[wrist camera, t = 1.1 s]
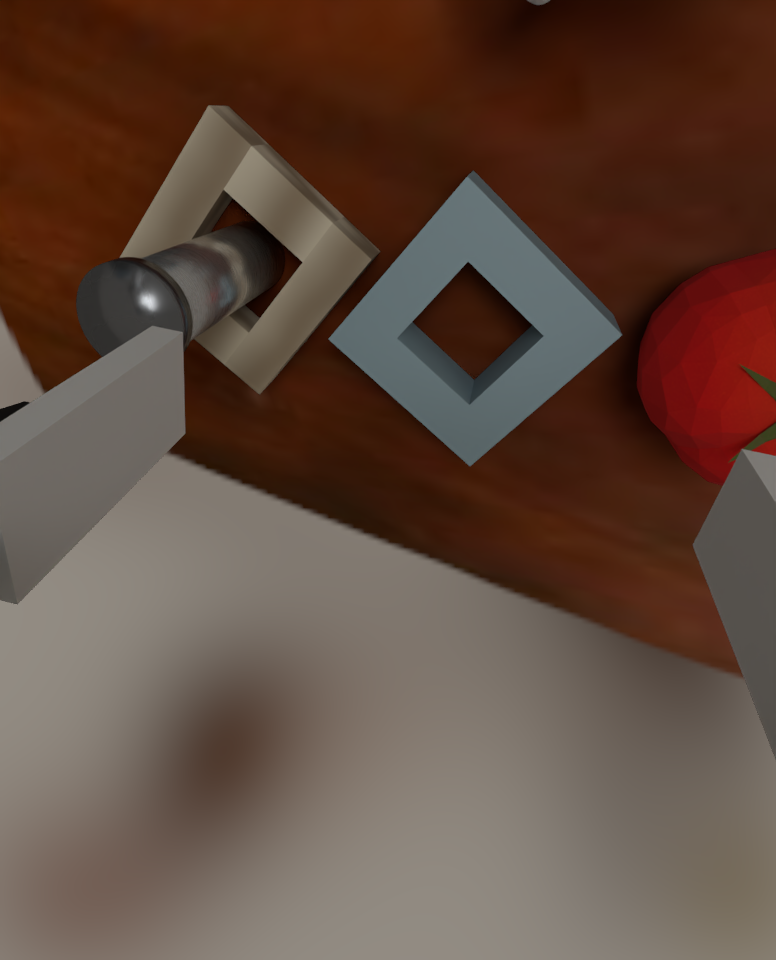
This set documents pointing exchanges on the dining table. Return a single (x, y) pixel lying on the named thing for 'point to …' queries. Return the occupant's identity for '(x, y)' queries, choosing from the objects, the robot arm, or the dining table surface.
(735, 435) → the tomato
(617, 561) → the dining table surface
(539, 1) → the mug
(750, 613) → the robot arm
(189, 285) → the pin
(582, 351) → the socket
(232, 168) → the beige square frame
